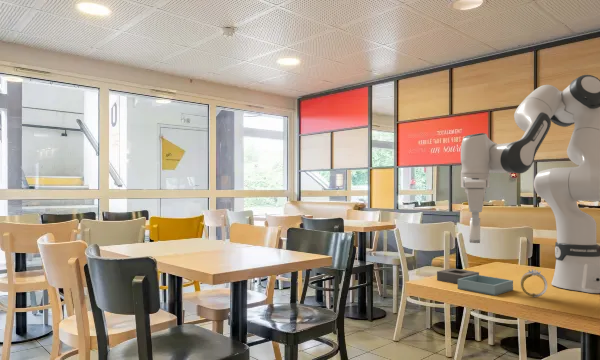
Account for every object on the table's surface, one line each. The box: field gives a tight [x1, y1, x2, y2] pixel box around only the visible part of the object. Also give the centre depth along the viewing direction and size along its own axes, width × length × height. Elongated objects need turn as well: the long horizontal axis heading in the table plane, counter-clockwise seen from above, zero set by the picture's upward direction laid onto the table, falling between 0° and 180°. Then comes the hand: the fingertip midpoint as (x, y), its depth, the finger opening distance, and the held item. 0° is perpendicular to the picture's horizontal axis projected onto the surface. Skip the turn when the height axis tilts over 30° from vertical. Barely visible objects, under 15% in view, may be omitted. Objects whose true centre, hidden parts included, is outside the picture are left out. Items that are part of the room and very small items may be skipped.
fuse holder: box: [436, 267, 480, 285], centre depth 155 cm, size 10×10×3 cm
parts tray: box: [457, 274, 514, 297], centre depth 141 cm, size 12×12×3 cm
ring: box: [520, 269, 548, 298], centre depth 131 cm, size 7×3×8 cm, turn 68°
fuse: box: [469, 217, 481, 244], centre depth 146 cm, size 3×3×8 cm
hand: (475, 225), depth 146 cm, fingers closed on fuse, 3 cm apart
